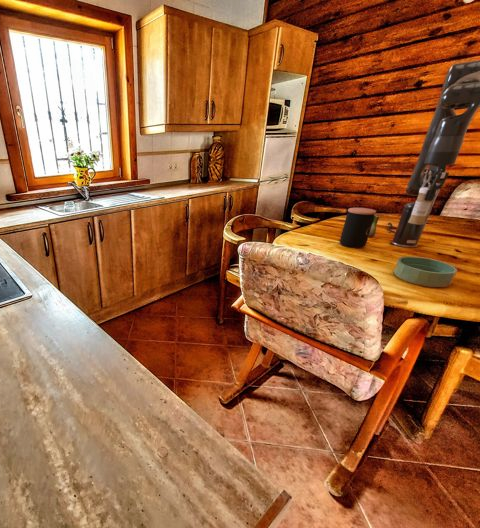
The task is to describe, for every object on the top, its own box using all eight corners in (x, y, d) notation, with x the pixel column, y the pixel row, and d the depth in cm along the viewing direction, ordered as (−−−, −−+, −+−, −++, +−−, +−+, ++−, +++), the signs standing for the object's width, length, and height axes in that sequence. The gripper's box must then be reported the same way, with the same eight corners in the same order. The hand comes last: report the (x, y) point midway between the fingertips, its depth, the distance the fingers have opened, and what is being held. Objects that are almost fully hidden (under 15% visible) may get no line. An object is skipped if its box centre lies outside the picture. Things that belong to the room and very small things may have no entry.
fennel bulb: (361, 234, 154) (367, 213, 149) (372, 235, 152) (379, 213, 147) (364, 237, 149) (370, 215, 144) (375, 238, 147) (382, 216, 142)
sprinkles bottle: (425, 223, 106) (440, 187, 101) (422, 225, 104) (436, 189, 99) (409, 221, 110) (422, 186, 104) (405, 223, 108) (418, 187, 102)
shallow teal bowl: (387, 267, 116) (392, 254, 113) (439, 273, 109) (445, 259, 107) (400, 284, 103) (405, 269, 101) (458, 291, 96) (466, 276, 94)
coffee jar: (366, 250, 134) (378, 213, 126) (339, 246, 139) (349, 211, 132) (363, 243, 142) (374, 208, 135) (338, 240, 147) (347, 207, 140)
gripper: (469, 150, 89) (447, 203, 96) (449, 149, 101) (431, 196, 107) (437, 151, 92) (418, 202, 99) (421, 149, 104) (405, 195, 111)
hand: (425, 199), depth 103 cm, fingers closed on sprinkles bottle, 4 cm apart
